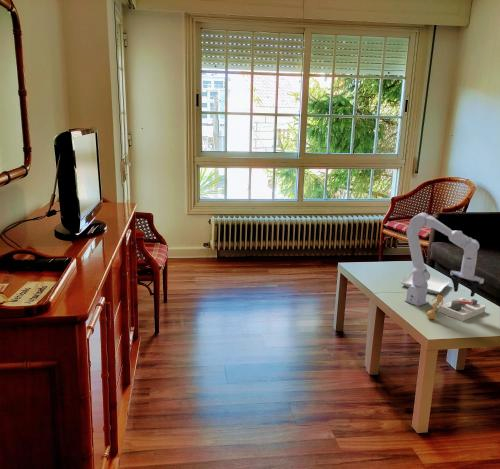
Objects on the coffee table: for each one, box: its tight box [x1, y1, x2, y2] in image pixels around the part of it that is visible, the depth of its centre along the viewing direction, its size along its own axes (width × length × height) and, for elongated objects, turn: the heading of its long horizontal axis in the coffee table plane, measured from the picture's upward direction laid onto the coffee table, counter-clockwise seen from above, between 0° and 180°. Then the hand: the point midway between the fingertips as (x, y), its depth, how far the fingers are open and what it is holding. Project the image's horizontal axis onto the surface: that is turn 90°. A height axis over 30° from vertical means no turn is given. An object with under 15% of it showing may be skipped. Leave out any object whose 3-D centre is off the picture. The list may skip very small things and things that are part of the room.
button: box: [451, 300, 462, 311], centre depth 210 cm, size 4×4×3 cm
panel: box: [437, 297, 487, 322], centre depth 214 cm, size 20×12×4 cm, turn 126°
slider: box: [470, 298, 478, 305], centre depth 215 cm, size 2×2×2 cm
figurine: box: [426, 293, 444, 320], centre depth 203 cm, size 8×6×12 cm
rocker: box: [454, 298, 473, 305], centre depth 213 cm, size 3×8×1 cm, turn 37°
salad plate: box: [399, 271, 451, 295], centre depth 246 cm, size 21×21×3 cm
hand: (463, 293), depth 211 cm, fingers open, 7 cm apart
